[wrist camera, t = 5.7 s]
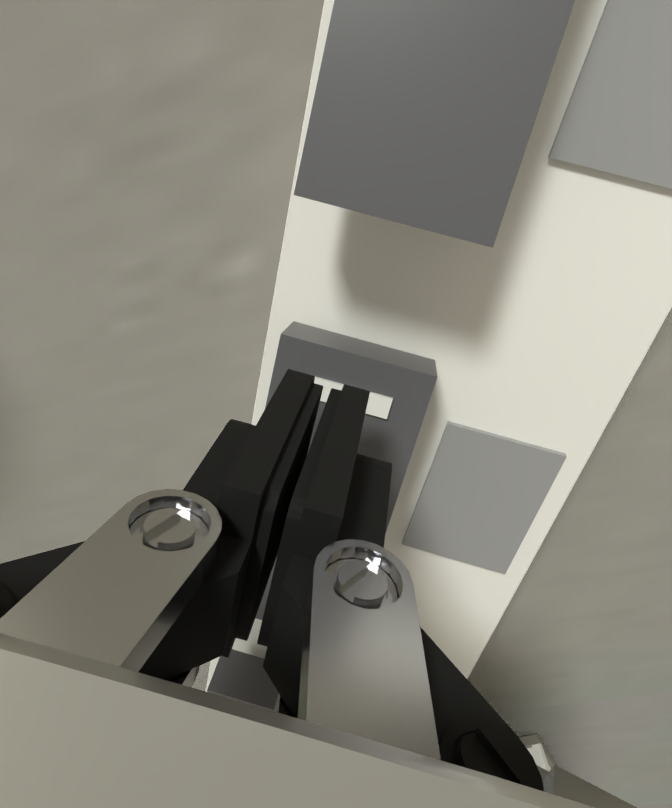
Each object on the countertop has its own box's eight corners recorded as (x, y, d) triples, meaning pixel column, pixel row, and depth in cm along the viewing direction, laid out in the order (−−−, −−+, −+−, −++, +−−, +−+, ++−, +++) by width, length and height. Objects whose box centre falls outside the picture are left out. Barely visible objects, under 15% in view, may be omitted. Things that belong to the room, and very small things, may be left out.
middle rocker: (355, 599, 17) (348, 648, 15) (242, 566, 17) (221, 611, 15) (434, 354, 14) (437, 378, 12) (297, 317, 14) (279, 334, 12)
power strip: (401, 728, 27) (395, 812, 23) (223, 675, 27) (194, 750, 24) (869, -230, 11) (1053, -377, 7) (418, -332, 11) (410, -514, 8)
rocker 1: (298, 750, 23) (286, 806, 22) (216, 725, 23) (198, 779, 22) (333, 663, 18) (320, 727, 17) (229, 632, 18) (206, 693, 17)
